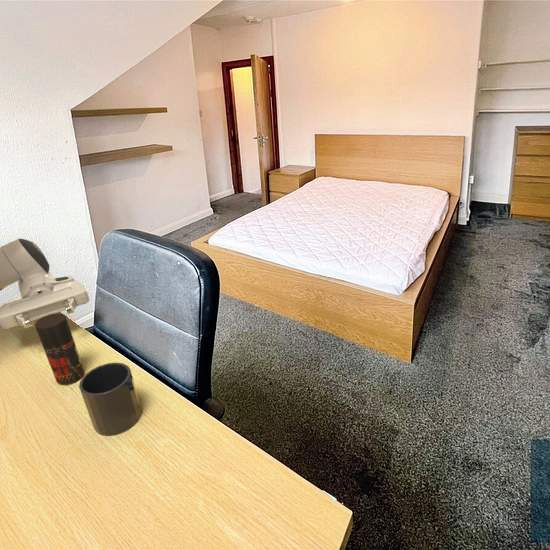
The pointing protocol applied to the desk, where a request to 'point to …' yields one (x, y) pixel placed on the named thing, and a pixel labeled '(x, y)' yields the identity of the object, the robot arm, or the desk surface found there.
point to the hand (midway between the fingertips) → (49, 317)
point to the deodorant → (60, 348)
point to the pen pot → (111, 398)
